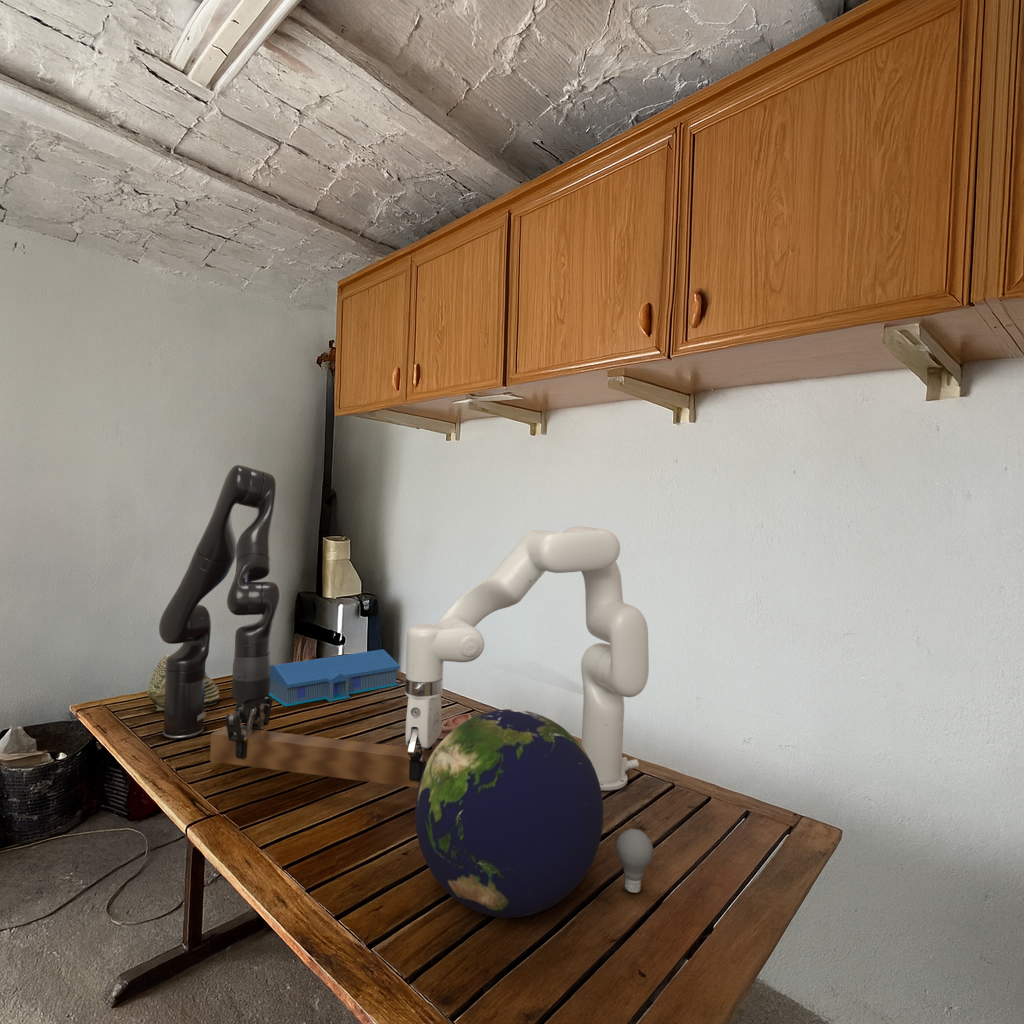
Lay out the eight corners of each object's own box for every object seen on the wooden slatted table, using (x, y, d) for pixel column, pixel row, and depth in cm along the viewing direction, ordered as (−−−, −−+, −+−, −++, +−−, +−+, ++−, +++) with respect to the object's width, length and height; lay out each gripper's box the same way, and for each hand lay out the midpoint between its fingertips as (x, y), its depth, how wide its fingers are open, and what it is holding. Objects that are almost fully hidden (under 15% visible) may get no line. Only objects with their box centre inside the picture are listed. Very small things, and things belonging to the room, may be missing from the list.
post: (210, 761, 136) (210, 733, 135) (223, 753, 140) (224, 726, 140) (454, 792, 126) (455, 762, 126) (460, 782, 130) (461, 753, 130)
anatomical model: (416, 721, 169) (430, 707, 181) (415, 736, 169) (429, 721, 181) (463, 727, 167) (475, 713, 178) (463, 742, 167) (474, 727, 178)
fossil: (144, 707, 182) (145, 655, 182) (212, 696, 194) (213, 647, 194) (151, 716, 175) (153, 662, 175) (221, 703, 188) (223, 653, 188)
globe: (373, 928, 94) (381, 727, 93) (463, 833, 121) (470, 677, 121) (566, 996, 82) (577, 768, 82) (617, 874, 110) (625, 703, 109)
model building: (289, 709, 186) (291, 675, 185) (258, 688, 204) (259, 657, 204) (403, 687, 212) (405, 657, 212) (366, 670, 230) (368, 643, 230)
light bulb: (610, 879, 108) (613, 822, 108) (644, 879, 109) (647, 822, 109) (619, 902, 102) (622, 840, 102) (655, 901, 103) (658, 840, 103)
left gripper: (247, 685, 128) (244, 769, 129) (285, 667, 142) (282, 742, 143) (214, 682, 130) (211, 764, 130) (255, 664, 144) (252, 738, 144)
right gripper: (428, 700, 120) (425, 796, 120) (453, 676, 137) (450, 760, 137) (391, 697, 121) (388, 791, 122) (419, 673, 138) (417, 756, 138)
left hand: (248, 752), depth 136 cm, fingers closed on post, 4 cm apart
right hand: (421, 773), depth 129 cm, fingers closed on post, 4 cm apart
